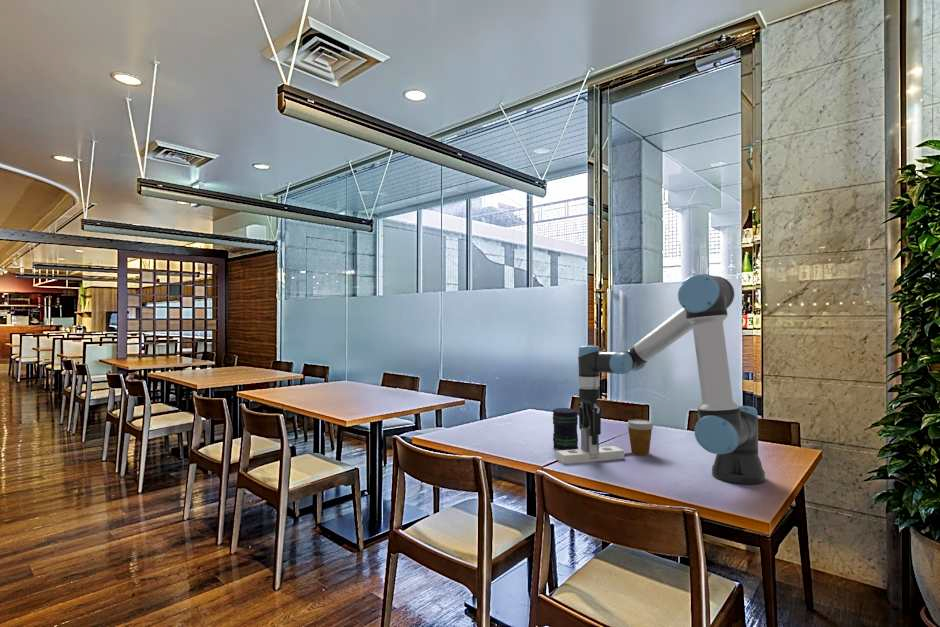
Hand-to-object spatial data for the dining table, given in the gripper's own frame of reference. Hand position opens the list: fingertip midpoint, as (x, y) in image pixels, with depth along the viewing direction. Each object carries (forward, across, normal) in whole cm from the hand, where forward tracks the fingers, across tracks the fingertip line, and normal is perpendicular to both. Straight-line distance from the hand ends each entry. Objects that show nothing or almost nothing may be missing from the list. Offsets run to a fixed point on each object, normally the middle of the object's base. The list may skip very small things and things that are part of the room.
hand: (590, 451), depth 189 cm
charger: (+1, 0, 0) cm, 1 cm away
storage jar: (+3, +18, +1) cm, 18 cm away
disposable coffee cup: (+3, +1, -22) cm, 22 cm away
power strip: (+3, 0, -3) cm, 4 cm away
